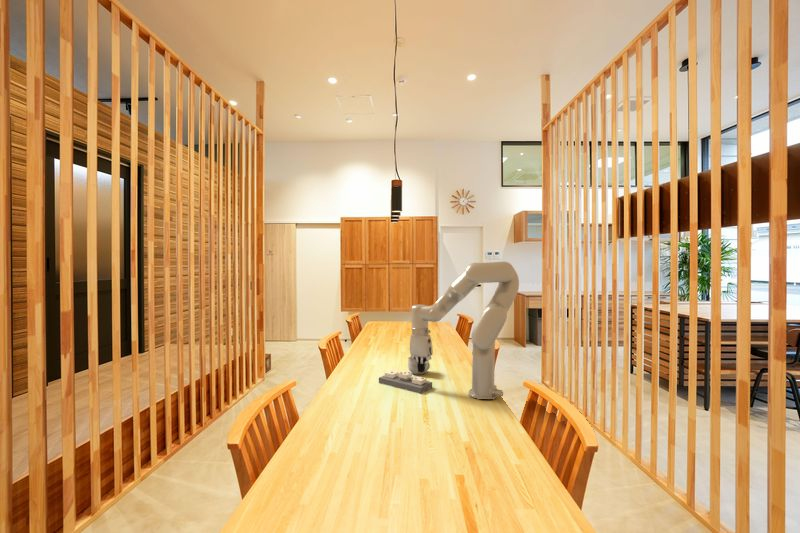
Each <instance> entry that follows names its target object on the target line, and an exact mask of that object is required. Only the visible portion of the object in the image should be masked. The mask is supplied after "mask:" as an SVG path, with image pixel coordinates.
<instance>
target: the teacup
mask: <svg viewBox="0 0 800 533" xmlns="http://www.w3.org/2000/svg"><path fill="white" fill-rule="evenodd" d="M407 363H408V364H407V366H408V367H407V368H408V370H409V371H408V372H411V373H412V375H413V374H414V375H417V376H418V375H419V376H420V375H425V373H427V372H428V370H430V368H431V365H430V360H427V361H426V362H425V370H424V371H423V372H418V367H417V363H416V360H415V359H414V358H412V357H411V356H409V357H408V362H407Z"/></svg>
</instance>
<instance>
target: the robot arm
mask: <svg viewBox="0 0 800 533" xmlns="http://www.w3.org/2000/svg"><path fill="white" fill-rule="evenodd" d="M485 283H486V284H487V283H488V284H489V283H490V284H491V283H498V285H497V288H496V290H495V292H494V294H493V296H492V297H491V299H490V301H489V302H488V304H487V306H485V308H484V310H483V312H482V314H481V316H480V319H478V322H477V324H476V326H474V327H473V330H472V332H471V334H470V335H471V337H470V338H471V339H470V340H471V343H472V360H471V361H472V364H471V365H472V368H471V370H472V371H471V372H472V374H471V375H472V378H471V379H472V380H471V389H469V390H468V395H469V397H471V398H473V399H475V398H477V399H476V400H479V399H493V398H496V397H497V398H499V396H500V397H503V396H504V391H503V390H502V389H498V388H497V385H495V365H496V364H495V359H496V356H495V355H496V352H495V351H496V347H495V346H496V340H497V338H498V337H499V335H500V333H501V331H502V329H503V327H504V325H505V323H506V322H507V318H508V313H509V311H510V308H511V307H512V305H513V302H514V301H515V299H516V297H517V294H518V292H519V287H520V280H519V275H518V273H517V271H516V270H515V268H514V266H513V265H512V263H510V262H508V261H493V262H492V261H490V262H473V263H470V264H469V265H468V266H467V267H466V268H465V270H463V272H462V273H461V274H460V275H459V276H458V277H456V278H455V280H454V281H453V282H451V283H450V285H449V286H448V289H447V290H446V291H445V292H444V294H442V296H441V297H440V298H438V300H437V301H436V302H434V303H433V304H432V305H426V304H413V305H412V306H411V308H410V309H411V334H410V338H409V339H410V340H409V354H410V357H412V358H414V359H415V360H416V363H417V367H418V372H423V371H424V370H425V362H426V361H427V360H429V361H431V360H432V356H433V353H434V352H433V343H432V342H433V341H432V336H431V334H430V333H431V329H429V322H432V323H433V322H434V323H436V322H439V321H441V320H442V319H443V318H444V317H445V316H447V314H449V313H450V311H452V309H454V307H455V306H457V304H459V303H460V302H462V301H463V300H464V299H465V298H466V297H467V296H468V295H469V294H470V293H471V292H472V291H473V290H474V289H476V287H477V286H478V285H480V284H485ZM497 398H496V399H497ZM493 400H494V399H493Z"/></svg>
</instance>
